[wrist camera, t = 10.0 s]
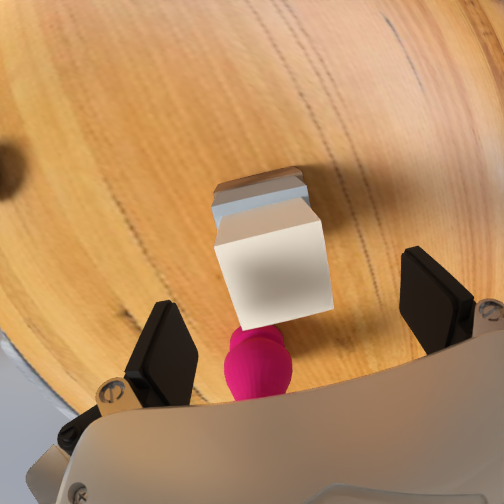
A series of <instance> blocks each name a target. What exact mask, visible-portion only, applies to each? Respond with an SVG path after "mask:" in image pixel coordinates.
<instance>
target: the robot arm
mask: <svg viewBox="0 0 504 504" xmlns="http://www.w3.org/2000/svg"><path fill="white" fill-rule="evenodd" d="M399 309H400V313H401V315H402V317H403V318H404V320H405V321H406V323H407V324H408V326H409V327H410V329H411V330H412V332H413V333H414V335H415V336H416V338H417V339H418V341H419V343H420V344H421V346H422V347H423V349H424V351H425V352H426V354H427V355H426V356H423V357H421V358H418V359H415V360H412V361H410V362H407V363H404V364H401V365H398V366H395V367H392V368H388V369H385V370H382V371H379V372H375V373H372V374H369V375H365V376H361V377H358V378H354V379H350V380H346V381H343V382H339V383H334V384H330V385H326V386H322V387H317V388H312V389H308V390H303V391H298V392H292V393H287V394H281V395H275V396H269V397H262V398H256V399H248V400H241V401H232V402H223V403H212V404H199V405H189V404H190V399H191V393H192V388H193V383H194V378H195V373H196V368H197V363H198V350H197V348H196V346H195V344H194V342H193V340H192V338H191V336H190V333H189V331H188V329H187V327H186V325H185V323H184V320H183V318H182V316H181V314H180V311H179V309H178V307H177V305H176V303H172V302H171V301H170V300H166V301H160V302H156V304H155V305H154V308H153V310H152V312H151V314H150V316H149V318H148V320H147V322H146V324H145V326H144V329H143V331H142V333H141V335H140V337H139V339H138V342H137V344H136V346H135V348H134V351H133V353H132V355H131V357H130V360H129V362H128V364H127V366H126V369H125V371H124V372H125V376H124V378H118V377H116V378H112V379H109V380H107V381H106V382H104V383H103V384H102V385H101V386H100V387H99V388H98V390H97V392H96V396H95V397H96V402H97V405H95V406H94V407H92V408H91V409H89V410H87V411H86V412H84V413H83V414H81V415H80V416H78V417H77V418H75V419H73V420H72V421H70V422H69V423H67V424H66V425H64V426H63V427H62V429H61V430H60V432H59V434H58V438H57V440H58V445H57V446H55V445H54V444H53V445H52V446H51V447H50V448H49V449H48V450H47V451H46V452H45V453H44V454H43V455H42V456H41V457H40V459H39V460H38V461H37V462H36V463H35V464H34V465H33V466H32V467H31V468H30V469H29V470H28V472H27V474H26V483H27V486H28V487H29V489H30V491H31V492H32V494H33V495H34V497H35V499H36V500H37V502H38V503H39V504H504V304H503V303H502V302H500V301H498V300H495V299H483V300H481V301H479V302H478V303H476V302H475V301H474V296H473V295H472V294H471V293H470V292H469V291H468V290H467V289H466V288H465V287H464V286H463V285H462V284H460V283H459V282H458V281H457V280H456V279H455V278H454V277H453V276H452V275H451V274H450V273H449V272H448V271H447V270H445V269H444V268H443V267H442V266H441V265H440V264H439V263H438V262H437V261H435V260H434V259H433V258H432V257H431V256H430V255H429V254H427V253H426V252H425V251H424V250H423V249H422V248H420V247H419V246H415V247H411V248H407V249H405V251H404V253H402V255H401V286H400V304H399Z"/></svg>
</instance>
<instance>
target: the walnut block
mask: <svg viewBox="0 0 504 504" xmlns="http://www.w3.org/2000/svg"><path fill="white" fill-rule="evenodd" d="M291 176H296V177H297V178H298V179H299V180H301V181H302V182H303V183H304V178H303V174H302V171H300V170H299V169H297V168H296V167H294V166H290V167H286V168H281V169H277V170H273V171H268V172H264V173H260V174H256V175H252V176H248V177H244V178H240V179H236V180H232V181H228V182H225V183H221V184H218V185H217V187H216V189H215V191H214V192H213V195H214V199H215V198H216V196H217V194H218V193H220V192H224V191H228V190H232V189H236V188H241V187H245V186H249V185H254V184H258V183H262V182H267V181H272V180H276V179H281V178H286V177H291ZM304 184H305V183H304Z"/></svg>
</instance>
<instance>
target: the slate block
mask: <svg viewBox="0 0 504 504" xmlns="http://www.w3.org/2000/svg"><path fill="white" fill-rule="evenodd" d="M298 197H301V198H302V199H303V200H304V201H305V202H306V203H307V205H308V206H309V207H310V201H309V195H308V190H307V185H306V184H304V183H303V182H302V181H301V180H299V179H298V178H297V177H296V176H291V177H286V178H281V179H276V180H272V181H267V182H262V183H258V184H254V185H249V186H245V187H241V188H236V189H232V190H228V191H224V192H220V193H218V194H217V196H216V198H215V200H214V202H213V204H212V206H211V209H212V212H213V216H214V219H215V223H216V226H217V230H218V229H219V225H220V222H221V218H222V216H225V215H229V214H233V213H237V212H241V211H245V210H248V209H252V208H256V207H260V206H264V205H268V204H272V203H277V202H281V201H285V200H289V199H293V198H298ZM310 208H311V207H310Z"/></svg>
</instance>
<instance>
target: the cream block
mask: <svg viewBox="0 0 504 504" xmlns="http://www.w3.org/2000/svg"><path fill="white" fill-rule="evenodd" d="M214 249H215V252H216V255H217V258H218V261H219V264H220V267H221V270H222V273H223V276H224V279H225V282H226V285H227V287H228V290H229V293H230V296H231V299H232V302H233V305H234V308H235V310H236V313H237V316H238V319H239V322H240V325H241V327H242V330H243V331H244V330H249V329H253V328H258V327H263V326H267V325H271V324H276V323H280V322H284V321H289V320H293V319H297V318H301V317H305V316H309V315H313V314H317V313H321V312H324V311H328V310H332V309H334V304H333V296H332V288H331V281H330V274H329V267H328V260H327V254H326V247H325V241H324V235H323V229H322V224H321V220H320V219H319V217H318V216H317V215H316V214H315V213H314V212H313V210H312V209H311V208H310V207H309V206H308V205H307V203H306V202H305V201H304V200H303V199H302V198H301V197H298V198H293V199H289V200H285V201H281V202H277V203H272V204H268V205H264V206H260V207H256V208H252V209H248V210H245V211H241V212H237V213H233V214H229V215H225V216H222V218H221V222H220V225H219V229H218V233H217V236H216V240H215V244H214Z"/></svg>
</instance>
